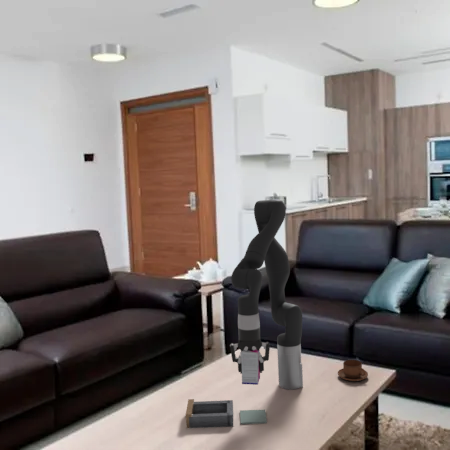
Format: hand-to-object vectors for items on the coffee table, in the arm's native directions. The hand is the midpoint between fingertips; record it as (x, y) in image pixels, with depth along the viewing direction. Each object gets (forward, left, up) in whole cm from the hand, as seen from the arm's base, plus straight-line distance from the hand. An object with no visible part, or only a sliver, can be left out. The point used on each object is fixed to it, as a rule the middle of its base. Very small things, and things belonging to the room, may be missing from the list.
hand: (251, 372), depth 183 cm
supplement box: (0, 0, -3) cm, 3 cm away
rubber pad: (0, 0, -16) cm, 16 cm away
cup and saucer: (-42, -31, -17) cm, 55 cm away
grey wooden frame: (+15, 0, -16) cm, 22 cm away
